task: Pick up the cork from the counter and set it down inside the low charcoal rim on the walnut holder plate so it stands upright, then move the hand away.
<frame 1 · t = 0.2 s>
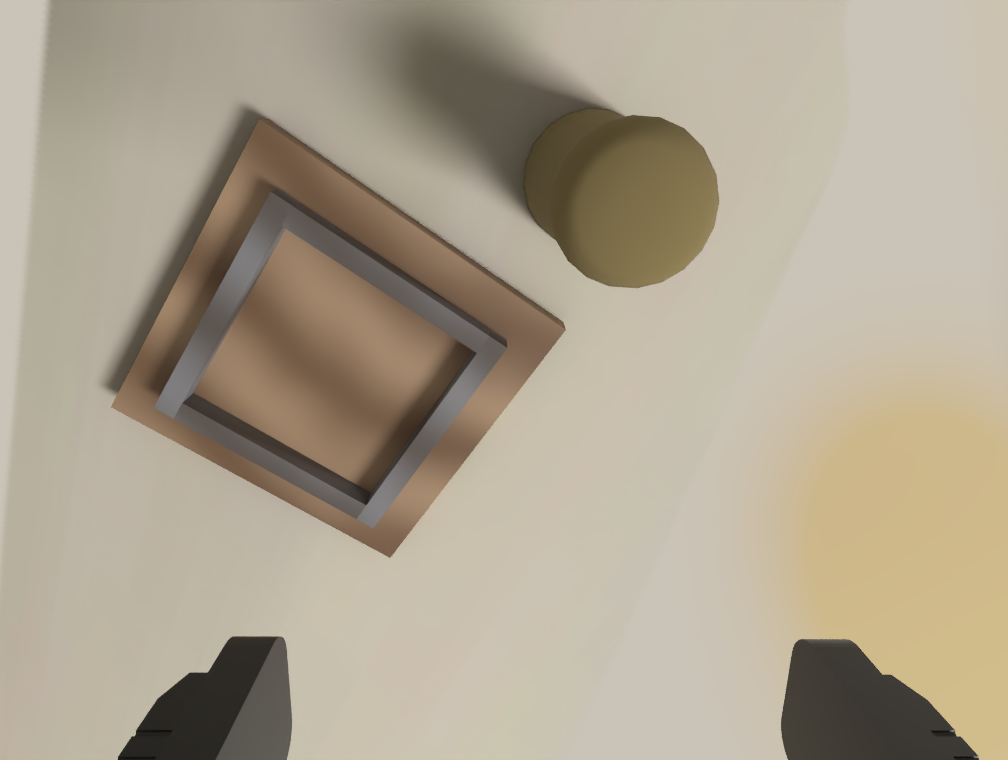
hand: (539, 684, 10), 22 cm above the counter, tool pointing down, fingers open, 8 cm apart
cork: (589, 180, 28), on the counter
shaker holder: (339, 360, 31), on the counter
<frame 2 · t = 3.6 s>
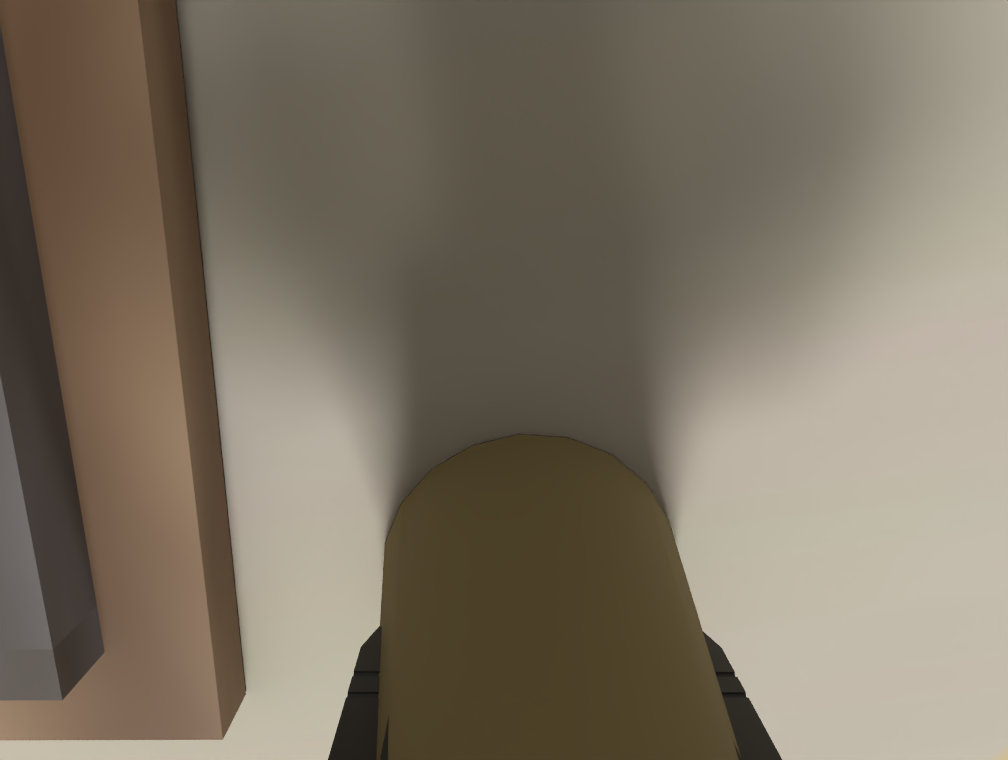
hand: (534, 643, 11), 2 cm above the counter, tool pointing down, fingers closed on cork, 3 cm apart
cork: (529, 567, 13), on the counter, touching gripper
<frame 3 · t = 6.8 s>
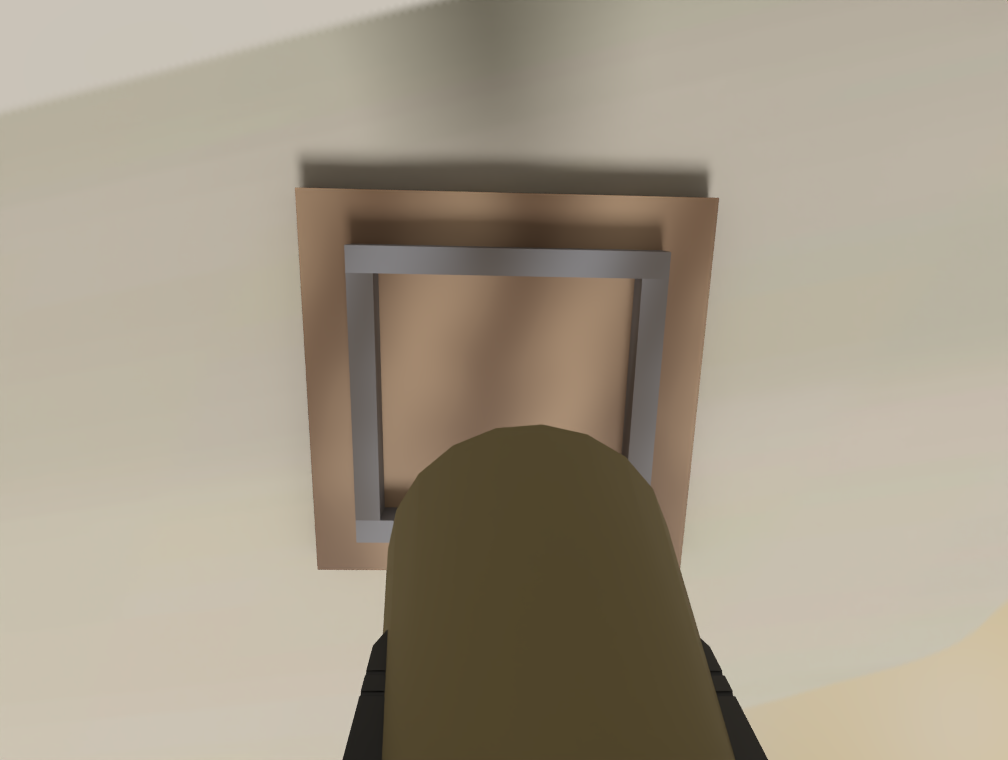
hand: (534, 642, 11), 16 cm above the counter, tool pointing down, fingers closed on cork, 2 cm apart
cork: (528, 552, 14), point 14 cm above the counter, touching gripper
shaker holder: (503, 388, 27), on the counter
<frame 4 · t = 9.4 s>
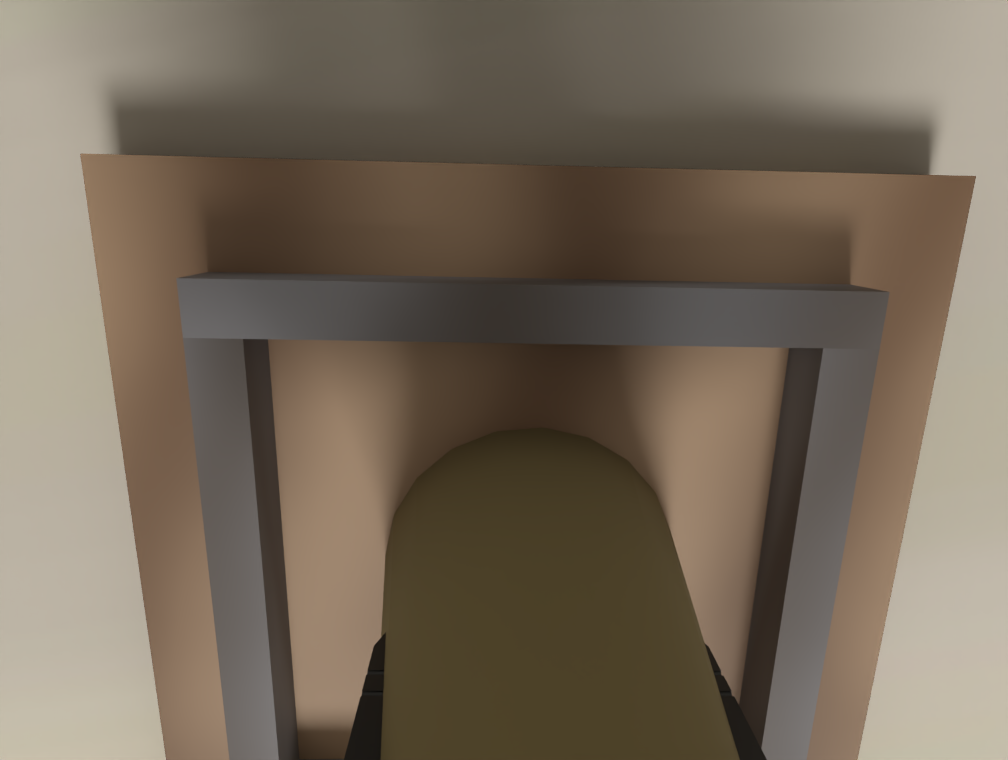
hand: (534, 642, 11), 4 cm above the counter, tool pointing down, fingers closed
cork: (529, 558, 13), point 1 cm above the counter, touching gripper, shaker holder
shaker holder: (521, 537, 14), on the counter
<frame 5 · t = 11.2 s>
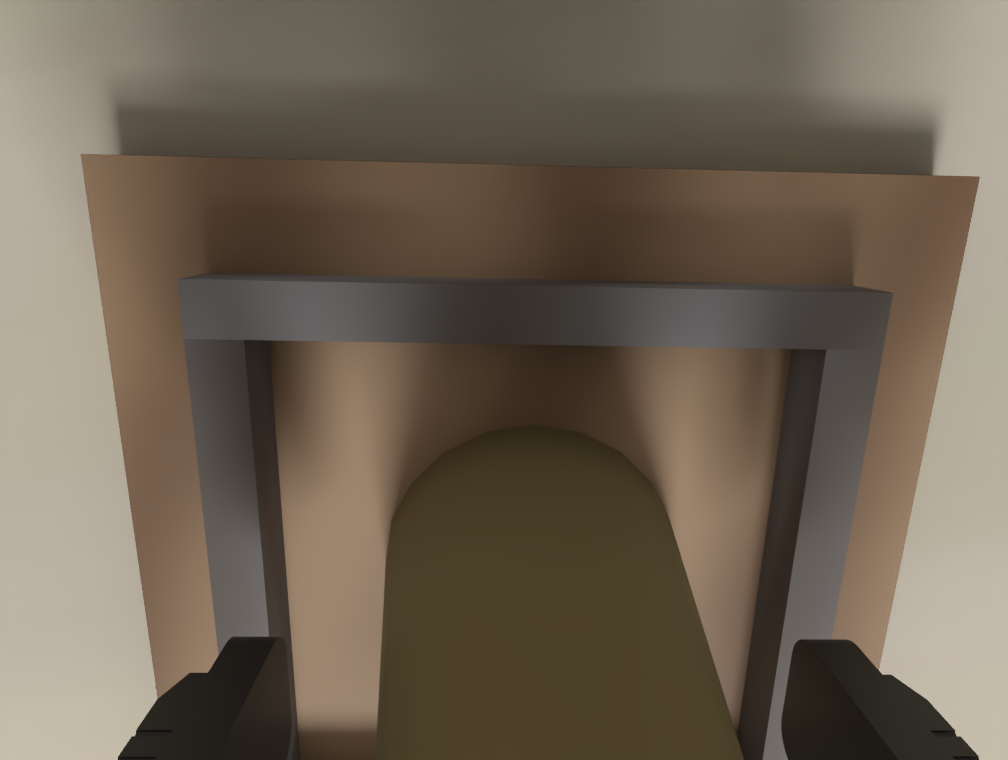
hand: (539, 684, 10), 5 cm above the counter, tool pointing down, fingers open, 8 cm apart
cork: (529, 556, 13), point 1 cm above the counter, touching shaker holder
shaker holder: (523, 538, 14), on the counter
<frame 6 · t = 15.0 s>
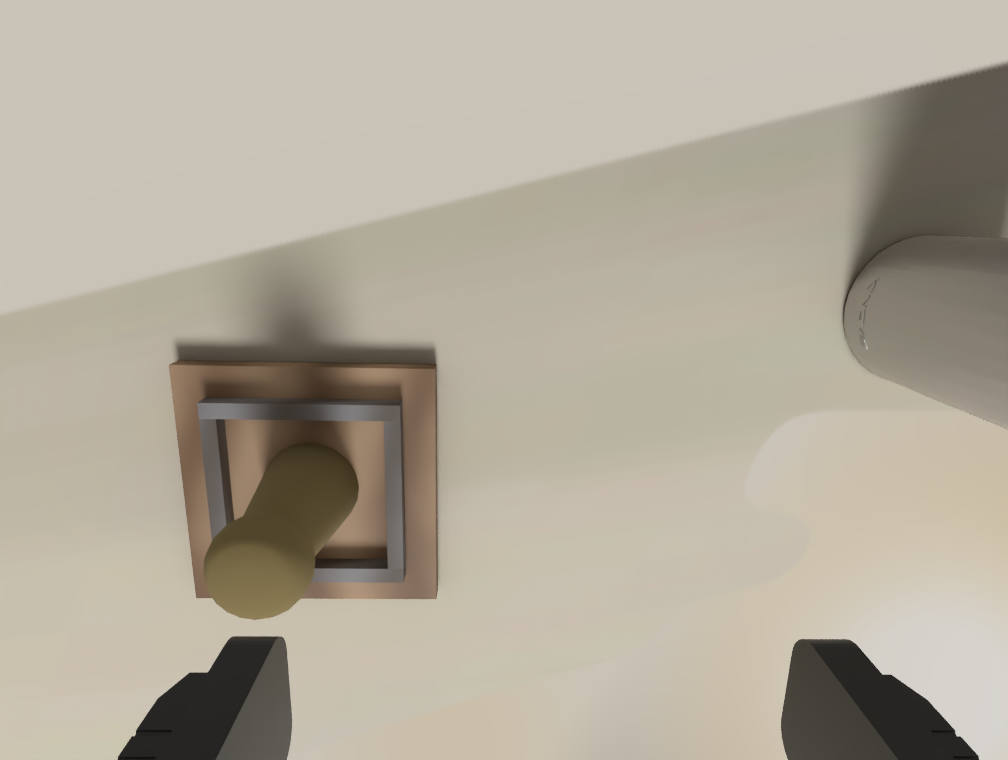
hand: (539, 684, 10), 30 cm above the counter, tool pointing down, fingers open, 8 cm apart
cork: (312, 485, 40), point 1 cm above the counter, touching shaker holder
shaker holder: (315, 480, 41), on the counter
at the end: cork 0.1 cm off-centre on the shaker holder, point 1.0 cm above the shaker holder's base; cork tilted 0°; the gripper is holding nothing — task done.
